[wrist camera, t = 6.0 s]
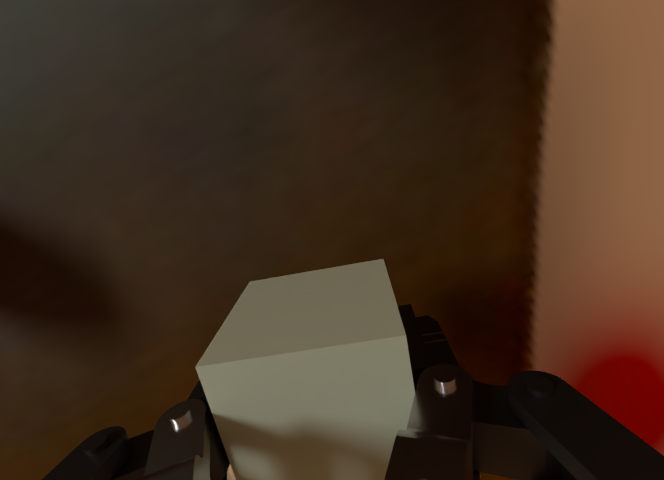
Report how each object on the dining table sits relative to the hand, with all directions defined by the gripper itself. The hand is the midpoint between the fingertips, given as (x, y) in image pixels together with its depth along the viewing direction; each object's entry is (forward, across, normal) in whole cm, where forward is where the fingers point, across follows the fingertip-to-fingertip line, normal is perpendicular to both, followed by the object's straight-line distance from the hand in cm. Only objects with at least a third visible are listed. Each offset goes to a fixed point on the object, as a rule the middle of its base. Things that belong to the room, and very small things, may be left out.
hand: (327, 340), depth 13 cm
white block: (+1, 0, 0) cm, 1 cm away
